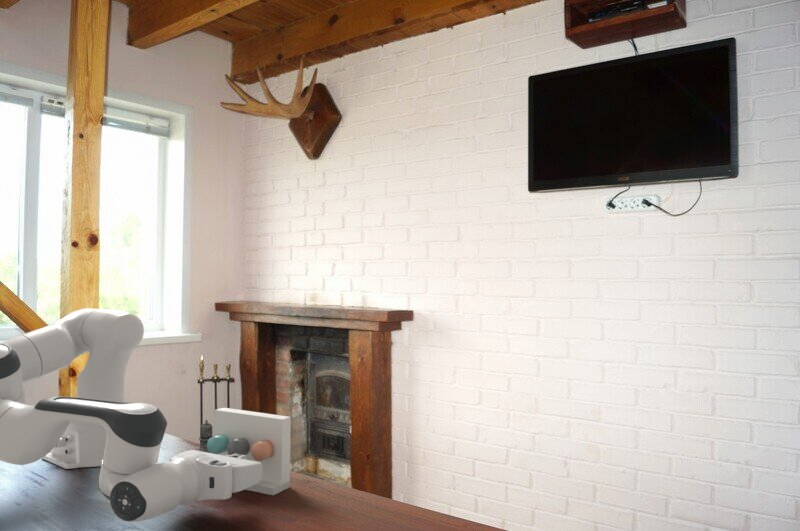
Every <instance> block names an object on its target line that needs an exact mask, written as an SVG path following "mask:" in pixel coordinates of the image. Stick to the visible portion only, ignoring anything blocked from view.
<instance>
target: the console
mask: <svg viewBox="0 0 800 531" xmlns="http://www.w3.org/2000/svg"><path fill="white" fill-rule="evenodd" d="M291 418H292V417H291V416H287V415H280V414H273V413H267V412H258V411H251V410H245V409H238V408H237V409H235V408H231V407H230V408H229V407H221V408H217V409H214V437H215V436H218V435H221V434H223V435H225V436H227V438H228V439H229V442H230V441H233V440H236V439H239V438H245V439H246V440H247V441H248V442H249V446H250V449H249V452H248V454H246V456H247V460H251V461H256V460H255V459H254V458H253V457H252V454H251V448H252V446H253V445H254V444H255V443H258V442H261V441H263V440H269V441H270V442H271V443H272V444H273V447H274V453H273V455H272V456H271V457H270V458H267V459H265V460H262V461H257V462H261V463H262V479H261V481H260V482H259V483H257V484H255V485H253V486H251V487H249V488H247V489H245V491H250V492H255V493H260V494H264V495H269V496H275V495H277V494H279V493H281V492H283V491H285V490H288V489H289V488H290V487H291V486H290V485H291V430H292V429H291V427H292V426H291V421H292V420H291ZM218 455H228V452H227V451H225V452H222V453H220V454H218Z"/></svg>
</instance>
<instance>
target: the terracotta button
mask: <svg viewBox="0 0 800 531" xmlns="http://www.w3.org/2000/svg"><path fill="white" fill-rule="evenodd" d="M273 453H274V447H273V444H272V443H271V442H270V441H269V440H263V441H261V442H258V443H255V444H254V445H253V446H252V448H251V454H252V457H253V458H254V459H255V460H256V461H262V460H265V459H267V458H270V457H271V456H272V455H273Z"/></svg>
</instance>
